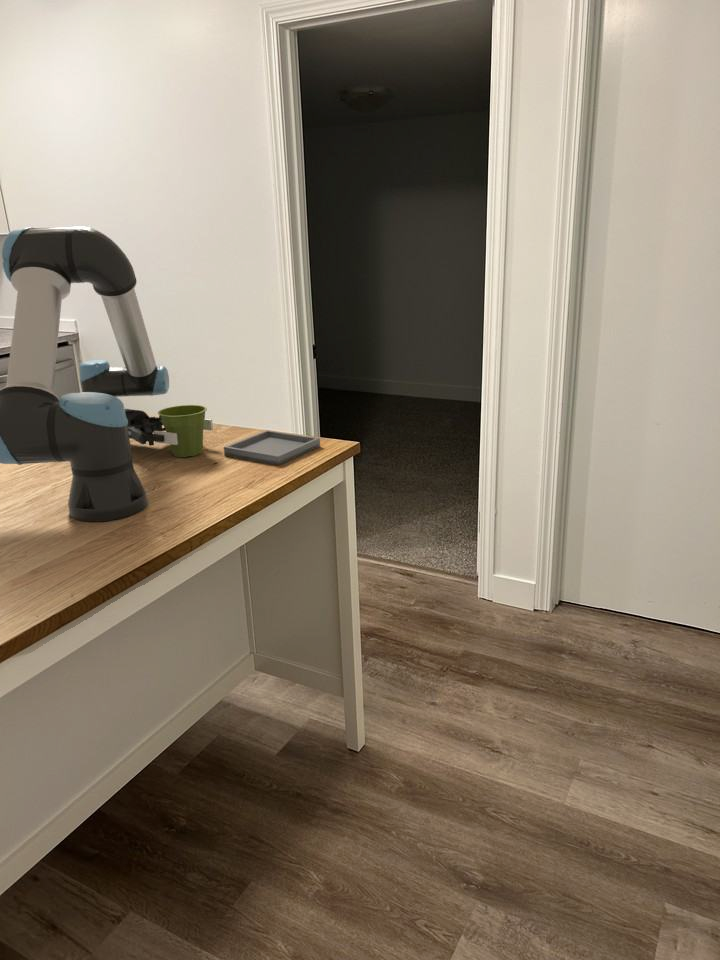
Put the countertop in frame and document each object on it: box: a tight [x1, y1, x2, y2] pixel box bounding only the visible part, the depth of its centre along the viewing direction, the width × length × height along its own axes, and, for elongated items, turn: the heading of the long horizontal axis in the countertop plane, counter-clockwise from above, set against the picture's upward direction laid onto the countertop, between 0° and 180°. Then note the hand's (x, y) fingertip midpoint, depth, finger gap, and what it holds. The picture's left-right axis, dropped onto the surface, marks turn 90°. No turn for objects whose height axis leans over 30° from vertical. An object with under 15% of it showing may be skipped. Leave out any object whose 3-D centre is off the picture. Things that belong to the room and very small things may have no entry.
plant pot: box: [157, 404, 208, 458], centre depth 179 cm, size 12×12×11 cm
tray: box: [223, 429, 321, 466], centre depth 181 cm, size 17×17×2 cm
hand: (194, 431), depth 178 cm, fingers open, 13 cm apart
